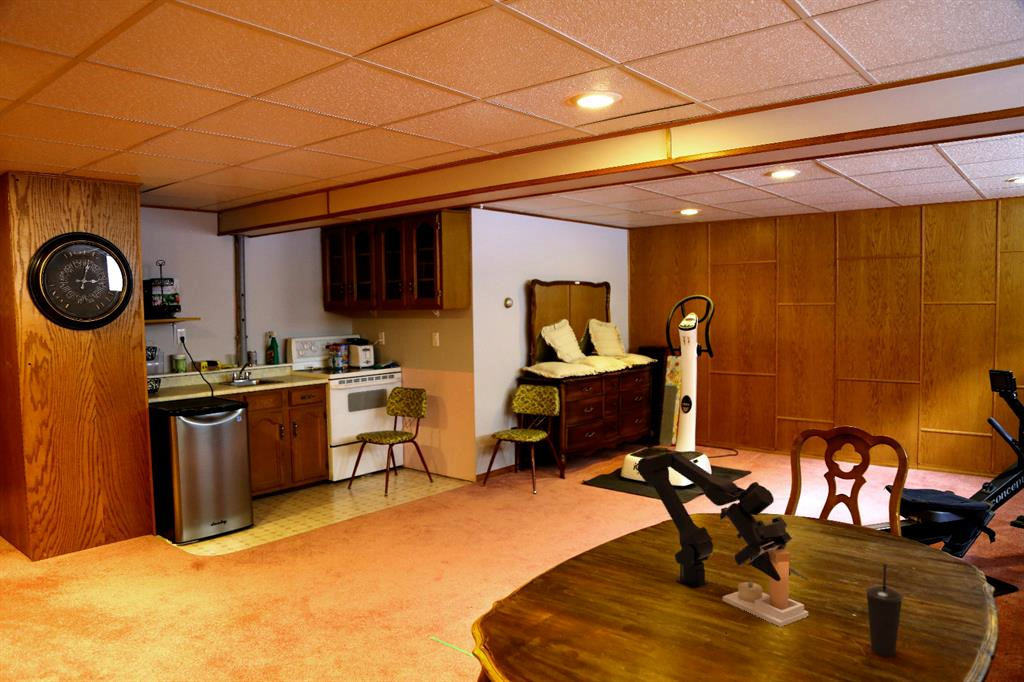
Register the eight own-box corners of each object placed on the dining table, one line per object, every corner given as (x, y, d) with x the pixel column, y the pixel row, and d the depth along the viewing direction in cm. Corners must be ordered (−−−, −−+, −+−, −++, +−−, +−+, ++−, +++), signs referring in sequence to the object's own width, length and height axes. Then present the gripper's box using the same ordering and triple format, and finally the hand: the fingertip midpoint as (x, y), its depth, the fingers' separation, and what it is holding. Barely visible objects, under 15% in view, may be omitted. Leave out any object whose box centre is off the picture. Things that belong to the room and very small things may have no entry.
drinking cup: (857, 643, 163) (859, 559, 161) (888, 641, 163) (890, 558, 162) (877, 660, 155) (879, 572, 154) (909, 658, 156) (911, 570, 154)
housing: (722, 600, 186) (722, 581, 186) (750, 591, 192) (750, 573, 192) (779, 627, 171) (780, 606, 171) (808, 616, 177) (808, 596, 176)
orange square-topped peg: (766, 602, 179) (767, 549, 178) (782, 601, 180) (783, 548, 179) (775, 610, 175) (776, 555, 174) (791, 608, 176) (792, 554, 175)
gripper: (745, 515, 173) (786, 572, 165) (785, 501, 185) (825, 553, 177) (718, 538, 180) (756, 593, 172) (758, 523, 192) (795, 574, 184)
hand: (784, 578), depth 176 cm, fingers closed on orange square-topped peg, 4 cm apart
